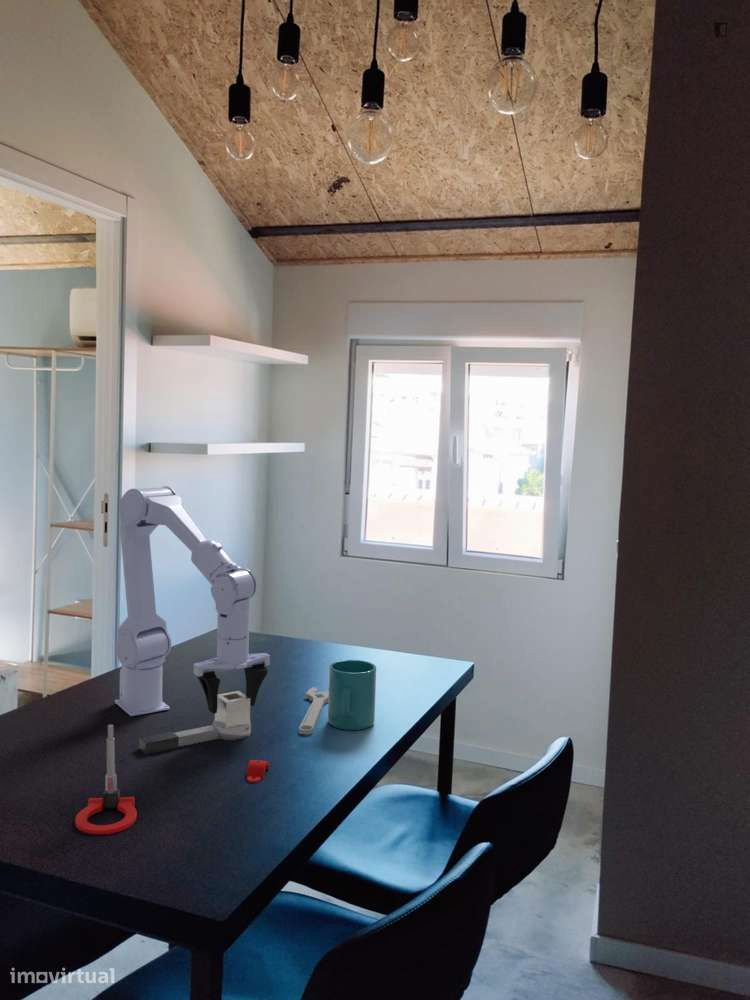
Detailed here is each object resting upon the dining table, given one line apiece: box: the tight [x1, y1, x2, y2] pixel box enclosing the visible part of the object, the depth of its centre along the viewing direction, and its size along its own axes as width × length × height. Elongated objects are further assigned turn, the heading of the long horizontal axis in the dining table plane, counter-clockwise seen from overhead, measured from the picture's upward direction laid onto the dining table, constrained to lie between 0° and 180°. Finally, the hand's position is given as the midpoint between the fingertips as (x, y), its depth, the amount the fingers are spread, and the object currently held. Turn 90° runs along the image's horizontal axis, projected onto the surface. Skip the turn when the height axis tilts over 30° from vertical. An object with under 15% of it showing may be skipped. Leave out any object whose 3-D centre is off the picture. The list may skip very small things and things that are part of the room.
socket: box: [214, 690, 251, 729], centre depth 156 cm, size 5×5×5 cm
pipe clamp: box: [246, 759, 270, 784], centre depth 140 cm, size 8×3×2 cm, turn 174°
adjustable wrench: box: [298, 685, 329, 736], centre depth 170 cm, size 25×6×2 cm, turn 170°
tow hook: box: [75, 724, 138, 835], centre depth 122 cm, size 8×13×9 cm
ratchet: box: [138, 719, 252, 755], centre depth 153 cm, size 7×20×4 cm, turn 126°
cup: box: [327, 659, 377, 731], centre depth 162 cm, size 9×12×11 cm
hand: (231, 707), depth 157 cm, fingers open, 7 cm apart
